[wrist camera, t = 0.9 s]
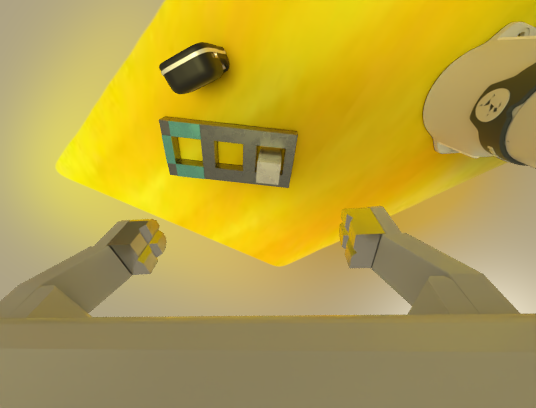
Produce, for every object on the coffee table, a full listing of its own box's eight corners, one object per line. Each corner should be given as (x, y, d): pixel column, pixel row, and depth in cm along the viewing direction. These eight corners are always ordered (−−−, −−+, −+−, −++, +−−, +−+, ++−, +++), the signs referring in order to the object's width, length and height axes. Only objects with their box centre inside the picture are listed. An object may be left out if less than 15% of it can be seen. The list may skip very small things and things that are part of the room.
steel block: (281, 147, 41) (281, 164, 34) (279, 166, 43) (278, 184, 37) (261, 145, 41) (257, 161, 34) (260, 164, 43) (255, 182, 37)
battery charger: (200, 90, 36) (171, 100, 27) (187, 65, 34) (151, 67, 25) (235, 72, 34) (217, 76, 25) (224, 45, 32) (200, 39, 23)
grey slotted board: (296, 131, 39) (297, 135, 37) (288, 182, 45) (288, 188, 43) (165, 116, 39) (158, 119, 37) (175, 169, 45) (169, 174, 43)
